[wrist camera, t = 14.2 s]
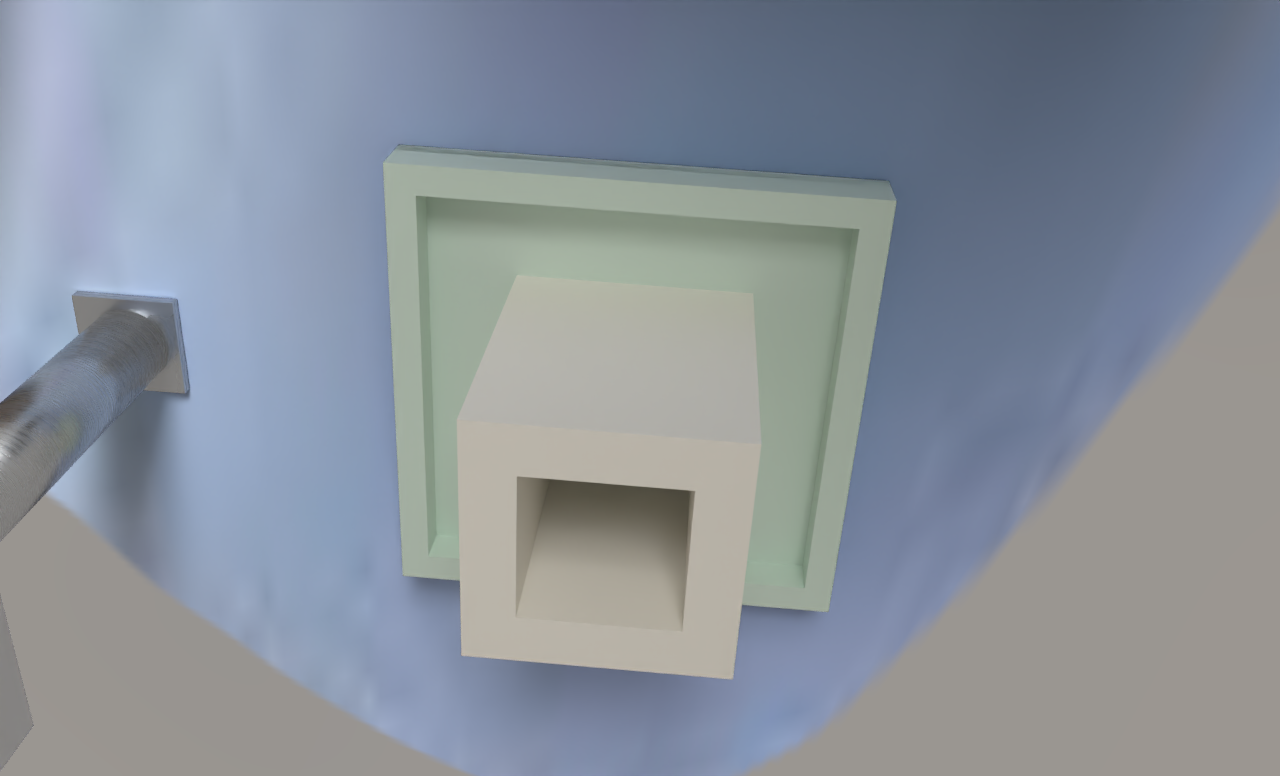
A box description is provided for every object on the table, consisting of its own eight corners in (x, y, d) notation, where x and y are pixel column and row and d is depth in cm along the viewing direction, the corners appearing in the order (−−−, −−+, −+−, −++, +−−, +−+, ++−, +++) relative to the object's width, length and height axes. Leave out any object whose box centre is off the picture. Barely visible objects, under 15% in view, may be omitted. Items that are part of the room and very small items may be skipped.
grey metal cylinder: (77, 290, 42) (-134, 458, 31) (177, 298, 41) (-2, 469, 31) (93, 380, 43) (-101, 567, 33) (189, 388, 43) (24, 578, 33)
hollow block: (516, 275, 39) (456, 419, 31) (753, 293, 39) (761, 444, 30) (515, 475, 43) (461, 655, 34) (731, 493, 43) (732, 679, 34)
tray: (398, 144, 38) (382, 162, 36) (888, 181, 38) (896, 201, 36) (415, 544, 46) (403, 575, 44) (824, 579, 45) (828, 611, 43)
